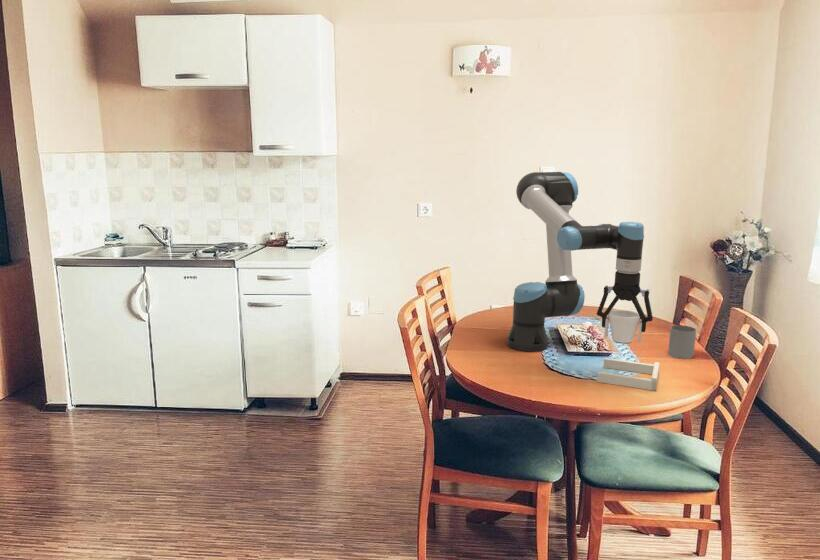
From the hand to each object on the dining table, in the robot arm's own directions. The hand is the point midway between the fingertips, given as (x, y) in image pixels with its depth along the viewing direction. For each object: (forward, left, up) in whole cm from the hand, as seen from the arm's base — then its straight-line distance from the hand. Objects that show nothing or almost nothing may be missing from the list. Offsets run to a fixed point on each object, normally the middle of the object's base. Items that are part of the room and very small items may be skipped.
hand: (622, 339), depth 207 cm
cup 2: (+18, +32, -13) cm, 39 cm away
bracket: (+3, 0, -13) cm, 13 cm away
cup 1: (0, 0, -1) cm, 1 cm away
